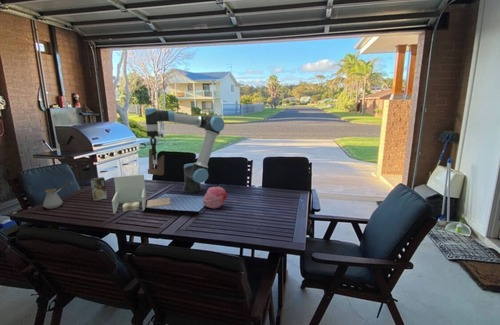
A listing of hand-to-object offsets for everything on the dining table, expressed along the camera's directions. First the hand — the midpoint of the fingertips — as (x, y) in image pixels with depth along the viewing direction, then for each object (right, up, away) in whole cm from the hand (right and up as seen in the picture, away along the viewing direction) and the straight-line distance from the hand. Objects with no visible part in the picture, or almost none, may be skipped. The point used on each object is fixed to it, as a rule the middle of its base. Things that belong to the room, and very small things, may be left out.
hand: (155, 163), depth 193 cm
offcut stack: (-15, -32, -4) cm, 35 cm away
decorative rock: (+43, -31, -4) cm, 53 cm away
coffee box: (-49, -28, +18) cm, 59 cm away
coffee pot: (-71, -31, +5) cm, 78 cm away
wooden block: (0, -8, +2) cm, 8 cm away
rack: (-17, -31, 0) cm, 35 cm away
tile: (+1, -29, +6) cm, 30 cm away
